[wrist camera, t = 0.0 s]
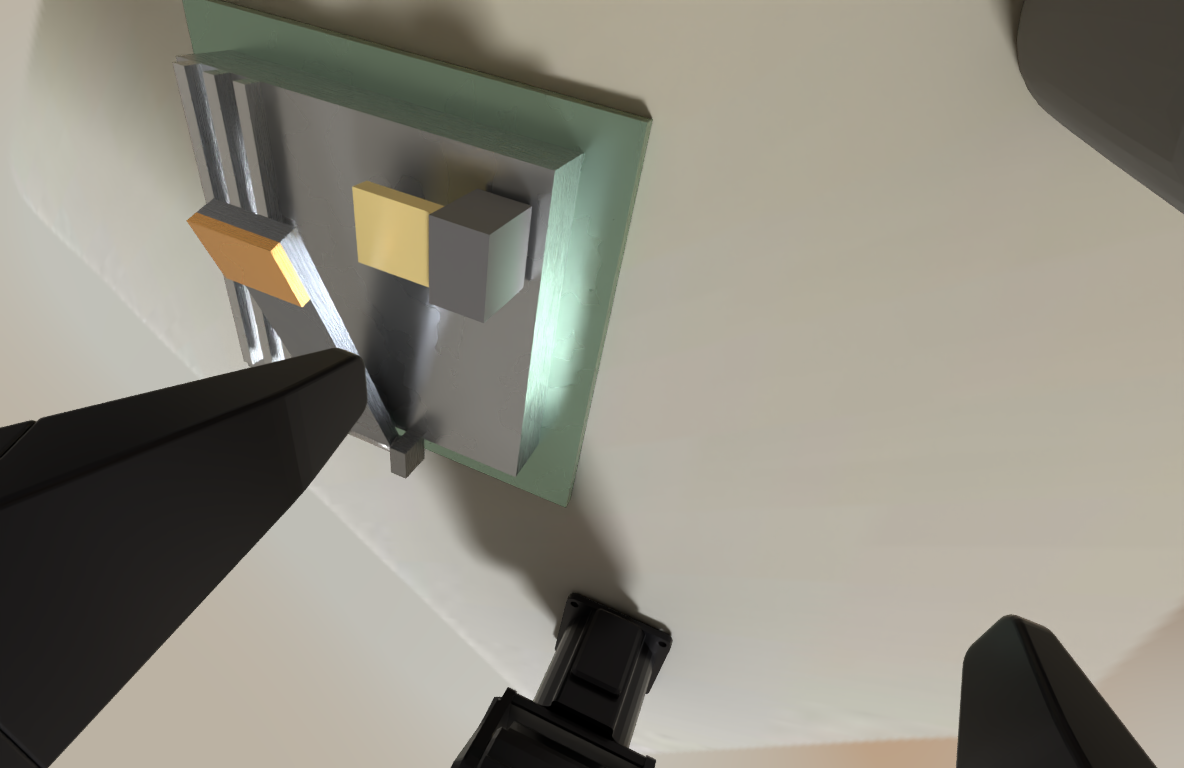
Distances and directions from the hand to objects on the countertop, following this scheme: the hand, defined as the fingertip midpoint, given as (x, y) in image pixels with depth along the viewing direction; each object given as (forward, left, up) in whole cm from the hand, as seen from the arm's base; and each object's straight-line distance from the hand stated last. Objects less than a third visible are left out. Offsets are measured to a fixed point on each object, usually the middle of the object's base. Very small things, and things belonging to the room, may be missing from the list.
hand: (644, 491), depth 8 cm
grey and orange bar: (-9, +14, -9) cm, 19 cm away
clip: (-3, +10, -11) cm, 15 cm away
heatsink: (-8, +14, -15) cm, 22 cm away
